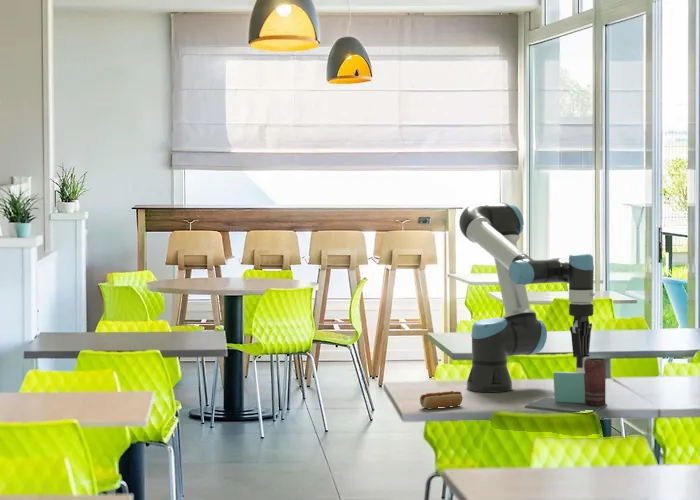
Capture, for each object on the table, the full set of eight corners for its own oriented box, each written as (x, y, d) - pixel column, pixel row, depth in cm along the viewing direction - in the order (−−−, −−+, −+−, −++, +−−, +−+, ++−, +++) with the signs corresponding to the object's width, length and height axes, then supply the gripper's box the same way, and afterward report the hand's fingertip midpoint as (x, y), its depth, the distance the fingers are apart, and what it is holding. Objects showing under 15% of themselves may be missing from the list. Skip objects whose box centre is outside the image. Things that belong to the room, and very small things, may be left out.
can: (581, 403, 328) (581, 358, 328) (601, 402, 329) (601, 357, 328) (587, 407, 322) (587, 361, 322) (608, 406, 323) (608, 360, 322)
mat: (524, 407, 326) (524, 405, 326) (546, 399, 339) (546, 397, 339) (587, 414, 314) (587, 412, 314) (606, 405, 328) (606, 403, 328)
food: (425, 411, 322) (425, 395, 322) (417, 408, 327) (417, 392, 327) (465, 407, 328) (465, 391, 327) (456, 404, 333) (456, 388, 332)
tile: (554, 401, 332) (553, 372, 332) (557, 400, 334) (556, 371, 333) (585, 403, 326) (584, 373, 326) (588, 401, 328) (586, 372, 328)
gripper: (584, 305, 328) (584, 381, 329) (600, 301, 339) (600, 375, 340) (561, 304, 332) (561, 379, 333) (577, 300, 343) (577, 373, 344)
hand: (581, 377), depth 336 cm, fingers closed
